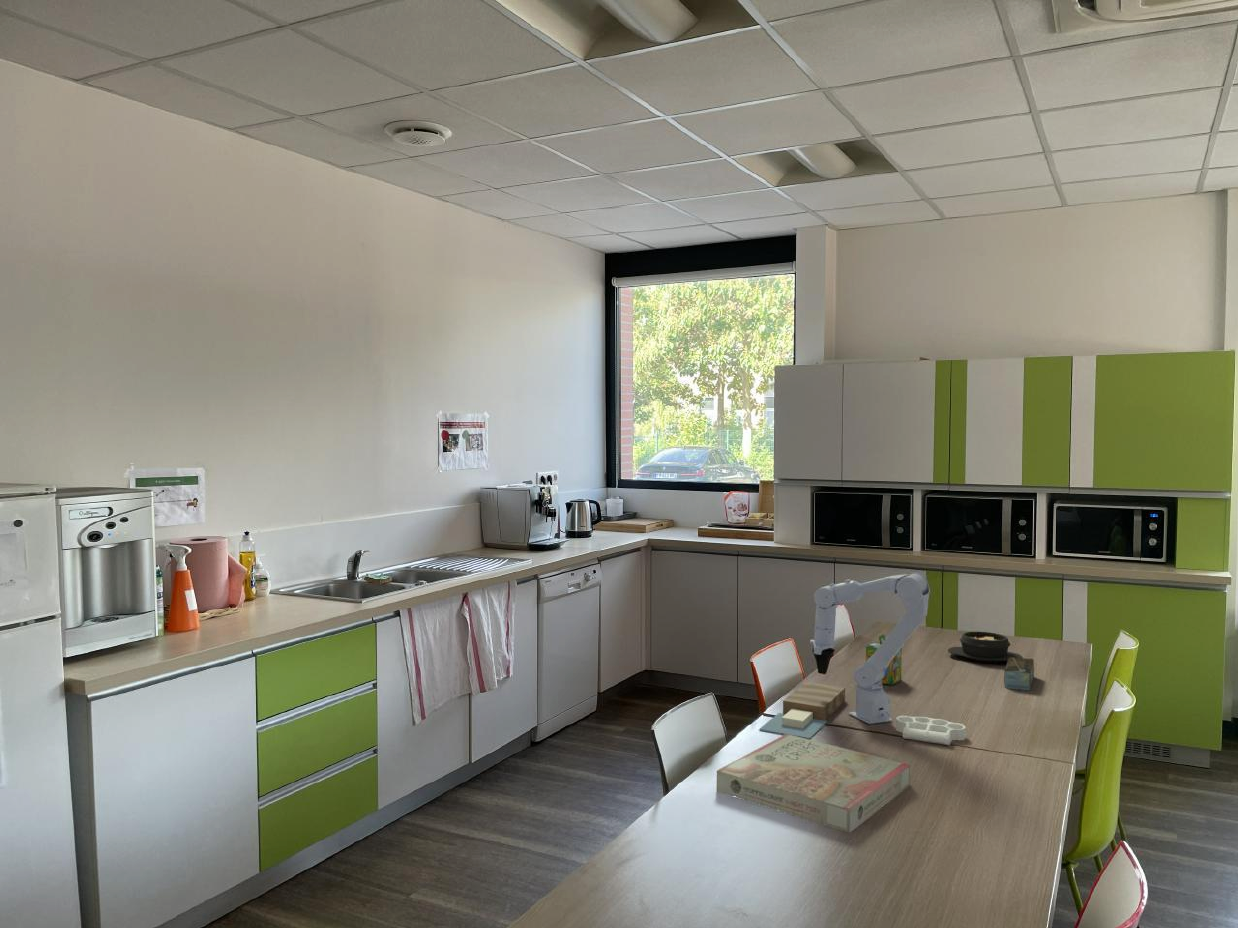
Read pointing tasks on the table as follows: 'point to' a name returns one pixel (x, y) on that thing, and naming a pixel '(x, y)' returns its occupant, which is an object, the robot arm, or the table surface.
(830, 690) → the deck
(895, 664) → the chalk box
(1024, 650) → the table surface
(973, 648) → the casserole
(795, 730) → the mat
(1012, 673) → the beverage carton
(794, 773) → the pizza box
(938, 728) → the knuckle duster
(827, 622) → the robot arm
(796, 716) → the tile
